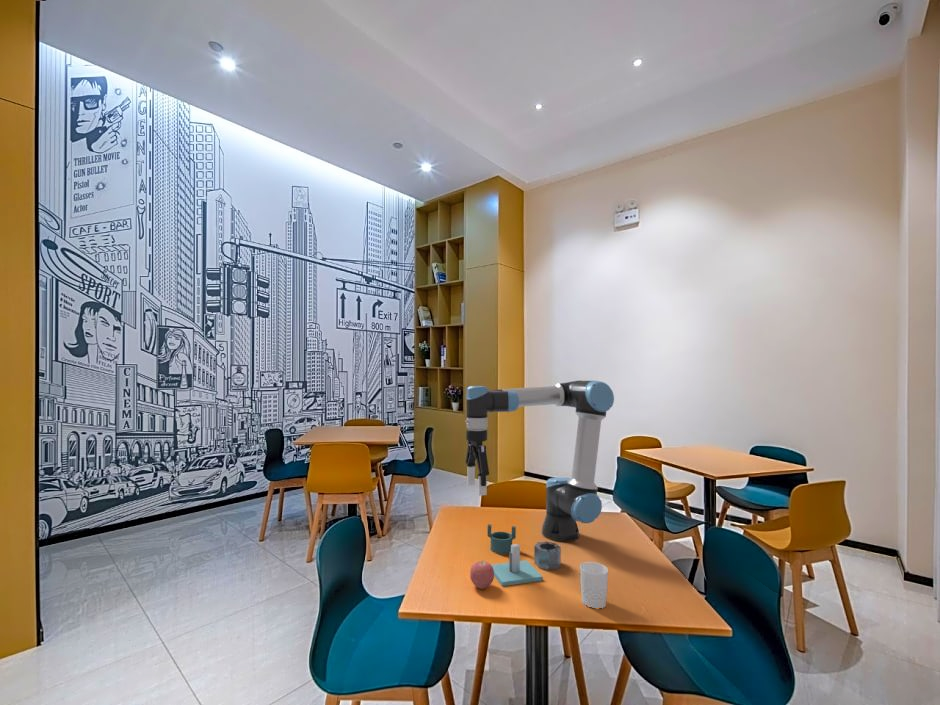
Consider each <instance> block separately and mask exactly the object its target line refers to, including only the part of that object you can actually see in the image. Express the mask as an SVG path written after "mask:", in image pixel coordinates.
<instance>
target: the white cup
mask: <svg viewBox="0 0 940 705" xmlns="http://www.w3.org/2000/svg"><path fill="white" fill-rule="evenodd" d="M579 572H580V574H579V577H580V592H581V602H582V604H583V605H584V604H585V605H584V606H586V605H587V606H590V607H593V608H602V607H604V608H605V607H606V606H607V596H608V595H607V594H608V581H609V580H608V579H609V578H608V577H609V569H608V567H607V566H606V565H604V564H602V563H600V562H599V563H598V562H595V561H584V562H582V563H580V565H579ZM587 606H586V607H587ZM602 609H603V608H602Z"/></svg>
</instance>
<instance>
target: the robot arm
mask: <svg viewBox="0 0 940 705" xmlns="http://www.w3.org/2000/svg"><path fill="white" fill-rule="evenodd" d="M465 397H466V399H465V401H466V407H465V408H466V419H465V420H464V422H465V423H466V432H465V434H466V441H467V450H466V457H465V464H466V466H467V471H466V472H467V476H466V477H467V479H466V484H467V486H475V485H476V464H477V469H478V473H477V477H478V480H477V482H478V484H477V485H478V486H477V488H478V491H477V492H478V496H480V497H481V496H487V495H488V494H487V493H488V492H487V491H488V490H487V484H488V483H487V480H488V479H487V478H488V476H490V469H489V463H488V455H487V446H486V445H483V442H486V441H487V440H488V430H487V429H488V413H510V412H516V411H518V409H519V408H520V407H532V406H545V405H546V406H547V405H555V406H557V407H568V408H569V407H571V408H575V414H576V415H577V417H578V422H577V431H576V440H575V446H574V455H573V462H572V469H571V470H572V471H571V477H550V478H548V479H547V481H546V486H545V490H546V492H545V493H546V494H545V495H546V499H545V503H546V506H545V509H546V510H545V512H546V514H545V516H544V520H543V523H542V527H541V535H542V536H544V538H547V539H550V540H551V541H557V542H573V541H576V540H578V539H579V538H580V531H579V526H578V524H577V522H580V523H581V524H590V523H592V522H595V520H596V519H598V518H599V516H600V515H601V513H602V508H603V504H602V500H601V499H600V496H598V490H599V489H598V488H599V487H598V486H597V485H596V483H595V478H596V471H597V461H598V460H597V459H598V451H599V445H600V444H599V443H600V435H601V434H600V433H601V425H602V420H604V419H605V418H606V417H607V412H609V410H610V409H611V408H613V406H614V401H615V395H614V392H613V390H612V388H611V387H610V385H608V384H607V383H606V382H603V381H599V380H573V381H568V382H561V383H555V384H554V385H551V386H550V385H549V386H535V387H533V386H532V387H518V388H517V387H516V388H502V389H501V388H500V389H490V388H489V389H488V386H485V385H470V386H468V387H467V388H466V396H465Z"/></svg>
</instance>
